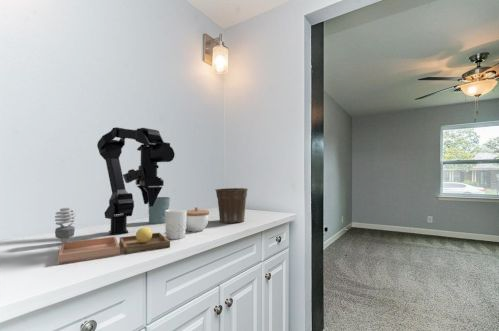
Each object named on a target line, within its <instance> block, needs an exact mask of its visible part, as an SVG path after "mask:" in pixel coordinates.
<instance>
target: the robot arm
mask: <svg viewBox="0 0 499 331" xmlns="http://www.w3.org/2000/svg"><path fill="white" fill-rule="evenodd" d="M115 138H117V139H115ZM118 139H119V140H118ZM126 139H130V140H135V141H136V142H138V143H139V144H140V146H138V147H137V148H136V150H137V151H140V165H138V169H136V170H135V169H134V168H132V169H129V170H127V173H124V174H123V170H122V166H121V163H120V156H121V154H122V152H123V151H122V149H123V147H124V146H125V144H126ZM96 147H97V150H98V153H99V155H100V156H101V157H102V159H104V160H105V164H106V169H107V175H108V179H109V185H110V189H111V196H110V197H109V200H108V204H109V205H108V207H107V208H106V210H105V211H104V213H103V214H104V218H105V219H109V220H110V230H108V233H109V236H113V235H120V234H128V233H129V230H128V228H127V227H128V226H127V224H128V223H127V221H128V220H127V217H132V216H133V212H134V208H135V201H134V198H133V194H132V193H131V192H128V191H127V190H126V186H125V183H126V184H129V183H132V182H133V181H135V185H136V187H137V188H138V189H139V190H140V192H141V196H142V200H143V204H144V205H148V201H149V206H150V207H152V206H153V205H154V203H155V201H156V199H157V197H159V194H160V192H161V190H162V189H163V187H164V183H165V182H164V179H163V178H162V177H159V176H158V169H159V165H158V163H170V162H172V161H173V160H174V159H175V151H174V149H173V147H172V146H171V143H170V142H165V141H164V139H163V138H162V136H161V133H160V131H159V130H157V129H154V128H153V129H152V128H147V127H139V128H136V129H128V128H123V127H116V126H115V127H113V128H112V129H111V130H110V131H109V132H106V133H105V134H103V135H102V136H101V137H100V138H99V140H98V141H97V145H96Z"/></svg>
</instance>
